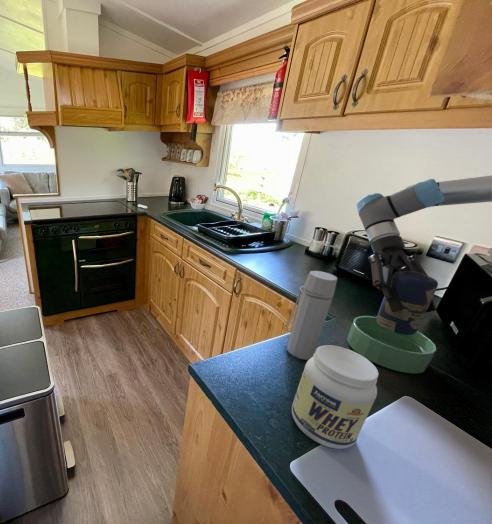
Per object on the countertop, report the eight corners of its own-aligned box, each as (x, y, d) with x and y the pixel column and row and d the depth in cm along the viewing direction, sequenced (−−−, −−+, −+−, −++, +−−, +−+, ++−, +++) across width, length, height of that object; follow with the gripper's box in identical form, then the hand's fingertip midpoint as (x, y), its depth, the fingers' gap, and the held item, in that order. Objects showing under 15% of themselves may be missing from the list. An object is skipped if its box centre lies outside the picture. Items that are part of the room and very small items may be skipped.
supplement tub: (291, 436, 59) (314, 370, 53) (288, 394, 69) (307, 335, 63) (362, 463, 54) (395, 394, 48) (348, 414, 65) (374, 352, 59)
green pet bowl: (423, 352, 89) (433, 333, 87) (427, 385, 76) (439, 364, 73) (350, 327, 101) (357, 309, 98) (342, 351, 87) (349, 332, 85)
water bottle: (318, 356, 84) (345, 278, 76) (304, 365, 80) (330, 283, 71) (289, 339, 91) (310, 266, 83) (274, 346, 87) (295, 270, 78)
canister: (403, 340, 79) (430, 281, 73) (366, 322, 87) (388, 267, 81) (421, 334, 83) (449, 277, 77) (385, 317, 91) (407, 264, 85)
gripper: (406, 246, 93) (435, 314, 84) (342, 244, 91) (366, 313, 82) (429, 235, 87) (464, 308, 77) (361, 232, 84) (389, 306, 75)
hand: (414, 311), depth 80 cm, fingers closed on canister, 10 cm apart
